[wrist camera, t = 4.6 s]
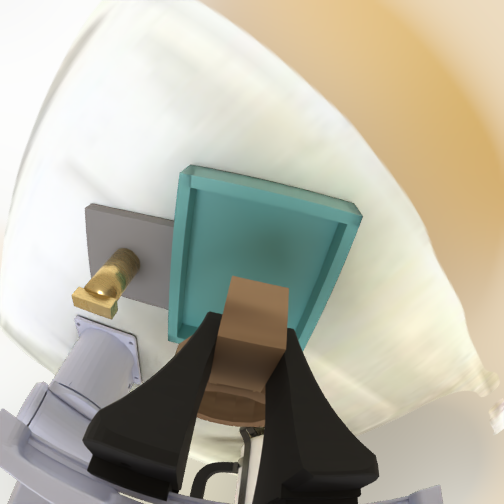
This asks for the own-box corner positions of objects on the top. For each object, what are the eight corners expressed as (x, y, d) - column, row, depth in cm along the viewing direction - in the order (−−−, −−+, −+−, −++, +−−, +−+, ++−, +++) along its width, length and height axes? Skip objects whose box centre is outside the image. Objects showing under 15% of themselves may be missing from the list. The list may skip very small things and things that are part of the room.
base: (173, 302, 25) (169, 309, 24) (97, 281, 25) (92, 286, 24) (179, 222, 21) (175, 227, 20) (91, 203, 21) (84, 208, 20)
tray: (293, 348, 26) (294, 367, 24) (175, 322, 26) (168, 340, 24) (353, 203, 19) (362, 216, 17) (190, 164, 19) (179, 172, 17)
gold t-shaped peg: (144, 278, 23) (113, 327, 17) (111, 269, 22) (75, 313, 17) (144, 252, 21) (109, 299, 16) (109, 244, 21) (69, 286, 16)
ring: (275, 394, 19) (271, 432, 16) (179, 374, 19) (169, 411, 16) (339, 298, 12) (345, 358, 10) (178, 262, 12) (153, 319, 9)
